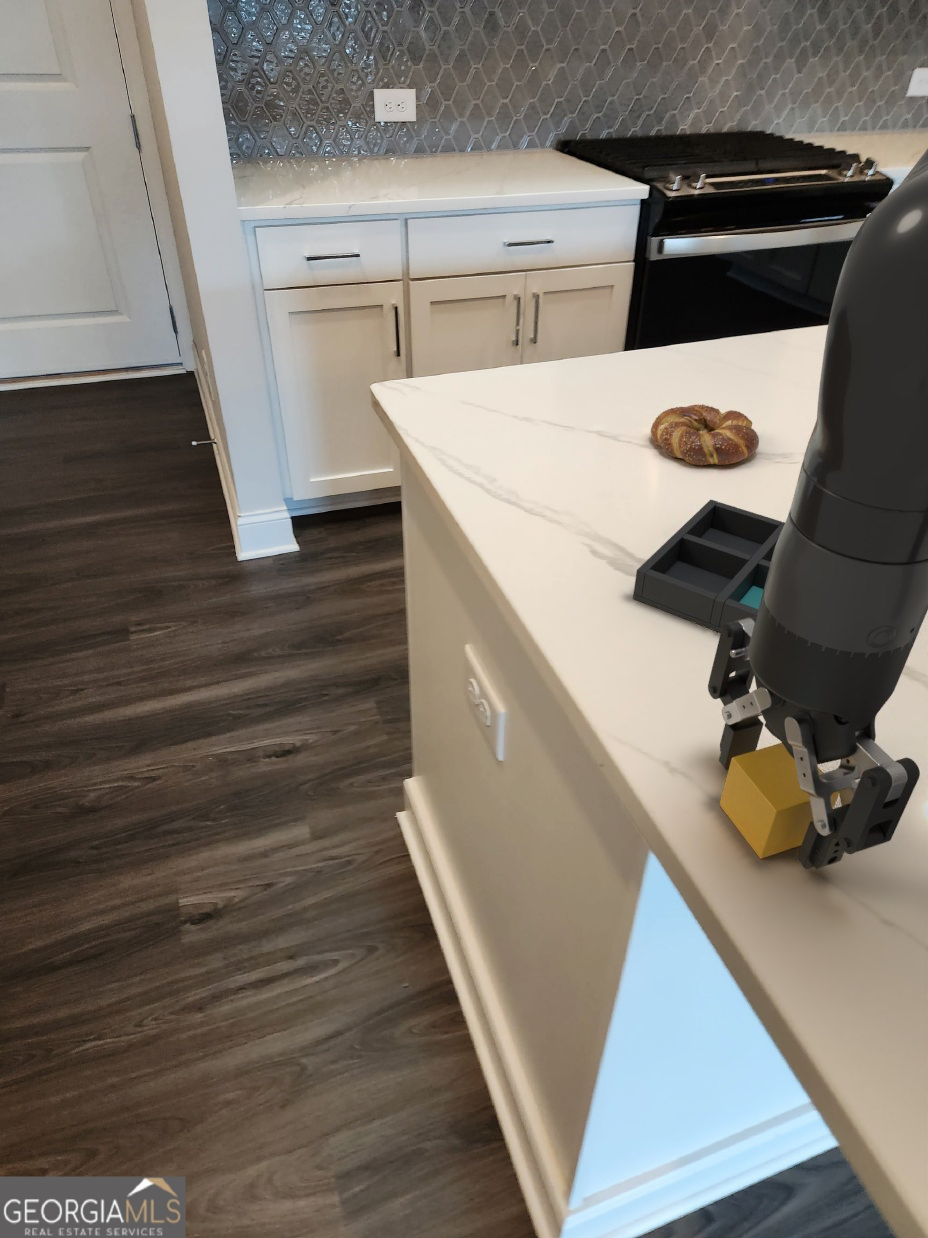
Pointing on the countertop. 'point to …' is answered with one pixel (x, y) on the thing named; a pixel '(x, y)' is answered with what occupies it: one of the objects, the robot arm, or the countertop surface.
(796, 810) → the block
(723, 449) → the pretzel
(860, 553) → the robot arm
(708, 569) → the tray
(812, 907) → the countertop surface
